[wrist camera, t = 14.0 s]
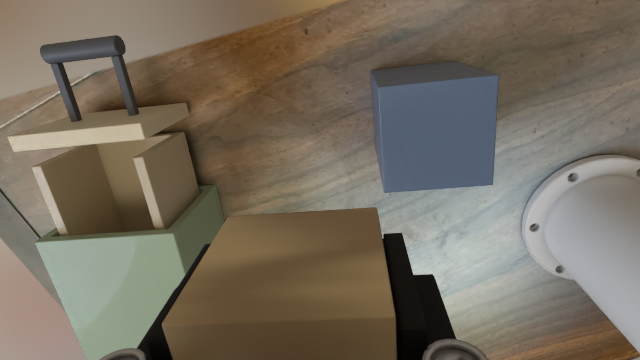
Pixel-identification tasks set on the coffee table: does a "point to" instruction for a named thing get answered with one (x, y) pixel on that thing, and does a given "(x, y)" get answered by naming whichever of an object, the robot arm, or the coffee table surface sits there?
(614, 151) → the coffee table surface
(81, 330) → the cabinet
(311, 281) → the block
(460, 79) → the stand
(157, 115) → the drawer
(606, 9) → the coffee table surface
